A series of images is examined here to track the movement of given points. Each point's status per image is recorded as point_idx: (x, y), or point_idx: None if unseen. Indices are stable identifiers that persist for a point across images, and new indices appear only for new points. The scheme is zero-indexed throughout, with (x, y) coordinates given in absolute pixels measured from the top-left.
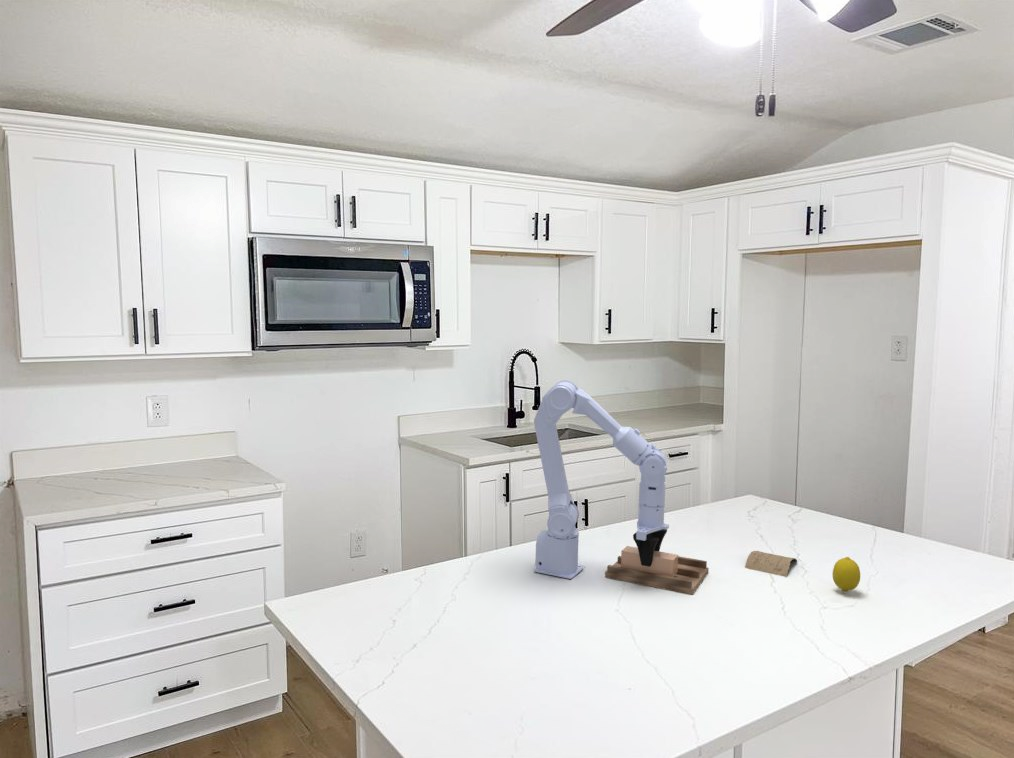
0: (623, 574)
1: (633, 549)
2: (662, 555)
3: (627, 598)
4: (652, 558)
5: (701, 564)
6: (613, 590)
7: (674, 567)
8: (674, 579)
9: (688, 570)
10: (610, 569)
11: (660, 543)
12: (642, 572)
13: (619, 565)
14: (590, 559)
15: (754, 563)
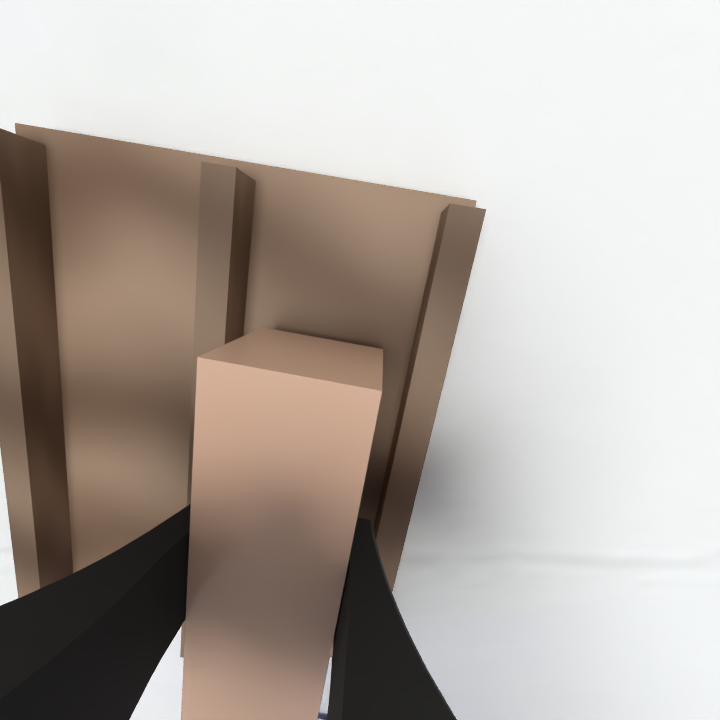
0: None
1: (239, 696)
2: (285, 495)
3: (607, 532)
4: (364, 557)
5: (21, 170)
6: (518, 594)
7: (341, 358)
8: (453, 335)
9: (230, 251)
10: None
11: (122, 584)
12: (397, 533)
13: None
14: (179, 698)
15: None
